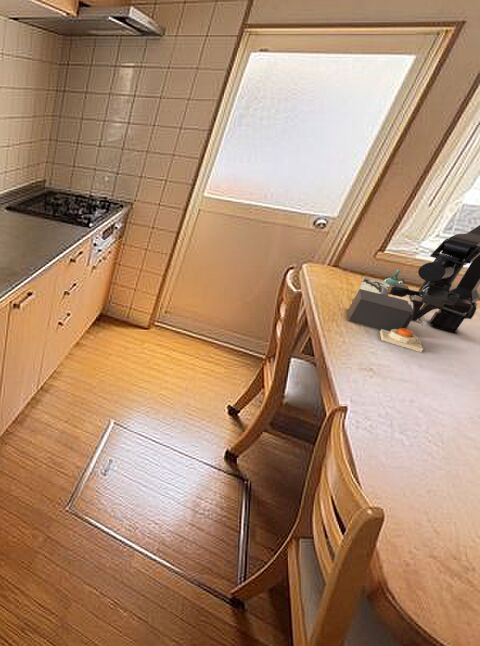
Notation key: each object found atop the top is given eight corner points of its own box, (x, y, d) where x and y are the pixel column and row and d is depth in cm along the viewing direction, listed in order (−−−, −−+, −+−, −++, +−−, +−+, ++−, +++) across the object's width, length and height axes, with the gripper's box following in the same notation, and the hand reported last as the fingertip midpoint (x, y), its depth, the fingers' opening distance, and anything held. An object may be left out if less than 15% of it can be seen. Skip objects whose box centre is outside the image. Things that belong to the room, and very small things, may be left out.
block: (418, 342, 142) (423, 335, 141) (421, 352, 136) (426, 344, 135) (379, 331, 148) (384, 324, 146) (381, 340, 142) (386, 332, 140)
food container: (388, 315, 160) (402, 291, 156) (370, 312, 161) (384, 289, 157) (367, 301, 171) (380, 279, 167) (351, 299, 172) (363, 276, 168)
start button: (410, 335, 141) (413, 330, 140) (411, 339, 139) (414, 334, 138) (396, 331, 143) (399, 326, 142) (397, 335, 141) (400, 330, 140)
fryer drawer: (415, 326, 151) (426, 308, 148) (419, 338, 143) (431, 319, 140) (356, 310, 160) (366, 293, 157) (357, 320, 152) (367, 302, 149)
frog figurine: (390, 296, 178) (411, 265, 170) (397, 315, 165) (420, 283, 157) (362, 289, 182) (381, 259, 174) (366, 308, 170) (387, 276, 162)
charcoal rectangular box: (394, 322, 155) (407, 300, 151) (397, 335, 146) (411, 312, 142) (347, 309, 162) (359, 288, 158) (348, 321, 153) (360, 299, 149)
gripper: (404, 275, 130) (378, 318, 137) (490, 294, 120) (457, 340, 127) (400, 266, 138) (376, 307, 145) (481, 283, 128) (451, 327, 135)
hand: (413, 320), depth 138 cm, fingers closed
